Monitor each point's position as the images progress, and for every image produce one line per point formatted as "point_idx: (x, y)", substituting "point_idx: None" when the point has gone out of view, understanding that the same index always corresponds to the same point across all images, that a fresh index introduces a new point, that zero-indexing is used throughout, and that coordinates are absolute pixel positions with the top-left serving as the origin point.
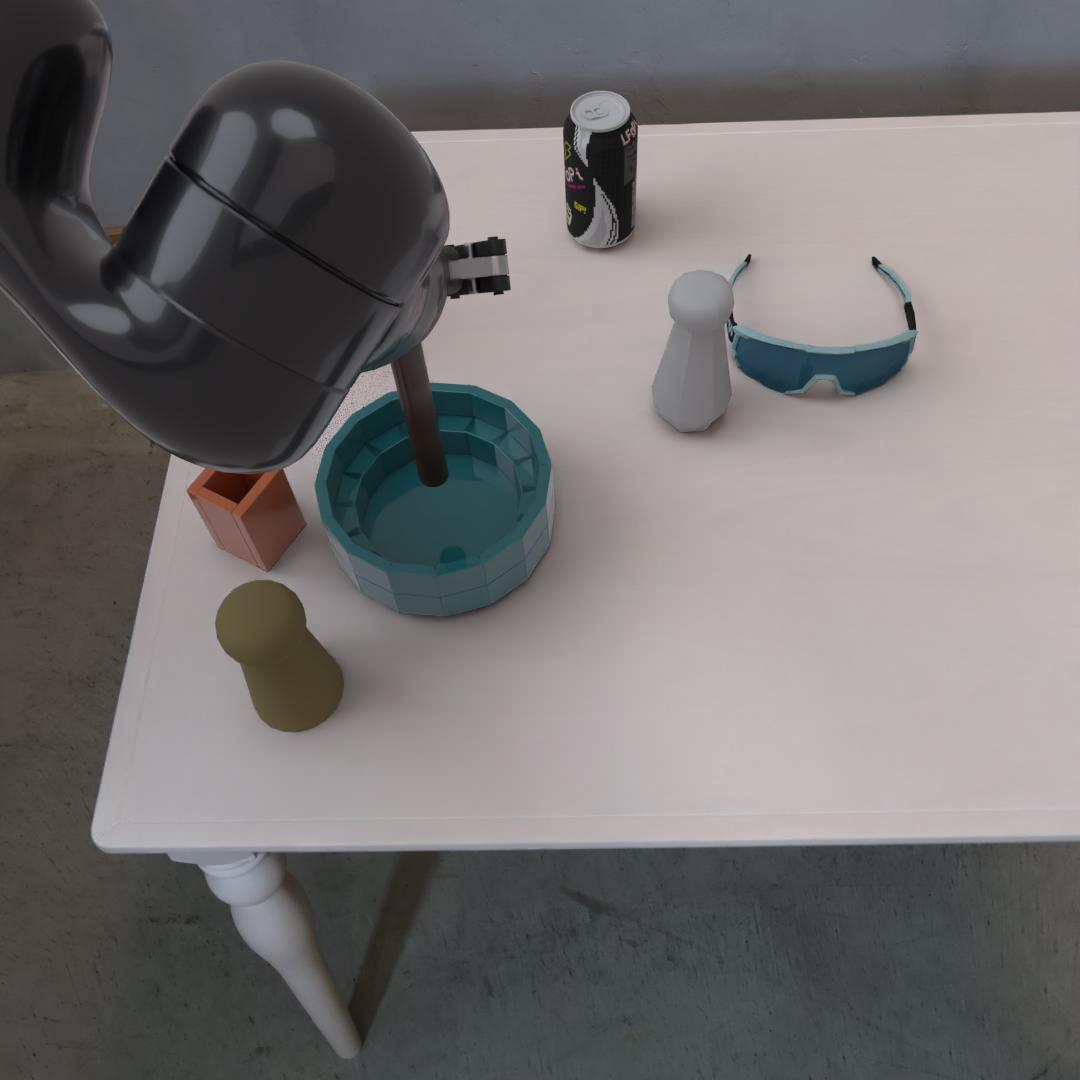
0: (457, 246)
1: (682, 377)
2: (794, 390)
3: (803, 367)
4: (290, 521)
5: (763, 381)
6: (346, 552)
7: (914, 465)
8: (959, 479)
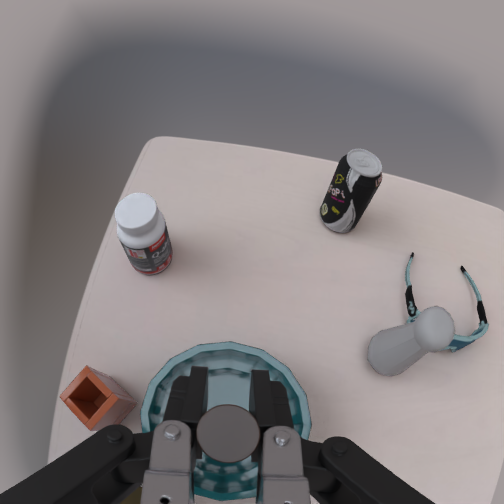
0: (372, 498)
1: (399, 361)
2: None
3: None
4: (126, 409)
5: None
6: None
7: (472, 393)
8: (485, 400)
